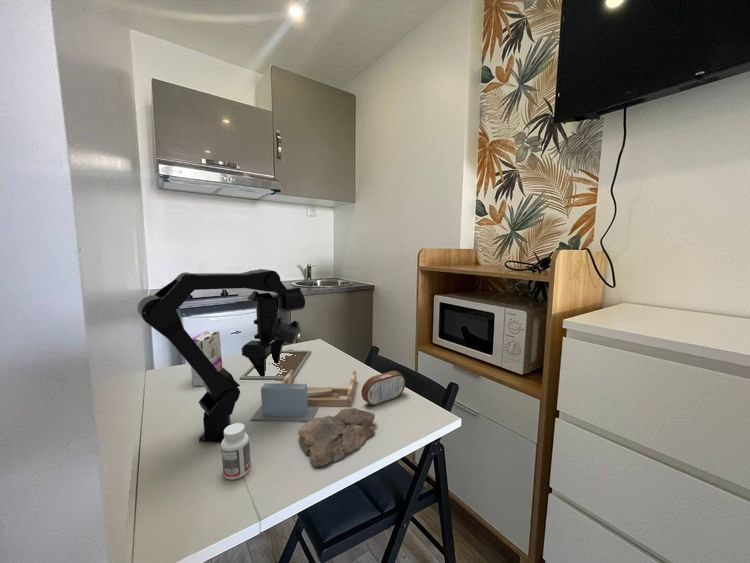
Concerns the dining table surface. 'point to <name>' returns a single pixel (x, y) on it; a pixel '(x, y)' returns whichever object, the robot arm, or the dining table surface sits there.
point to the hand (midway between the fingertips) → (269, 369)
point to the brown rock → (335, 435)
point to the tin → (383, 387)
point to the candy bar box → (208, 352)
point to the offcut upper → (319, 392)
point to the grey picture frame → (283, 366)
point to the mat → (306, 418)
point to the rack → (332, 401)
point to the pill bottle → (235, 452)
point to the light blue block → (284, 399)
